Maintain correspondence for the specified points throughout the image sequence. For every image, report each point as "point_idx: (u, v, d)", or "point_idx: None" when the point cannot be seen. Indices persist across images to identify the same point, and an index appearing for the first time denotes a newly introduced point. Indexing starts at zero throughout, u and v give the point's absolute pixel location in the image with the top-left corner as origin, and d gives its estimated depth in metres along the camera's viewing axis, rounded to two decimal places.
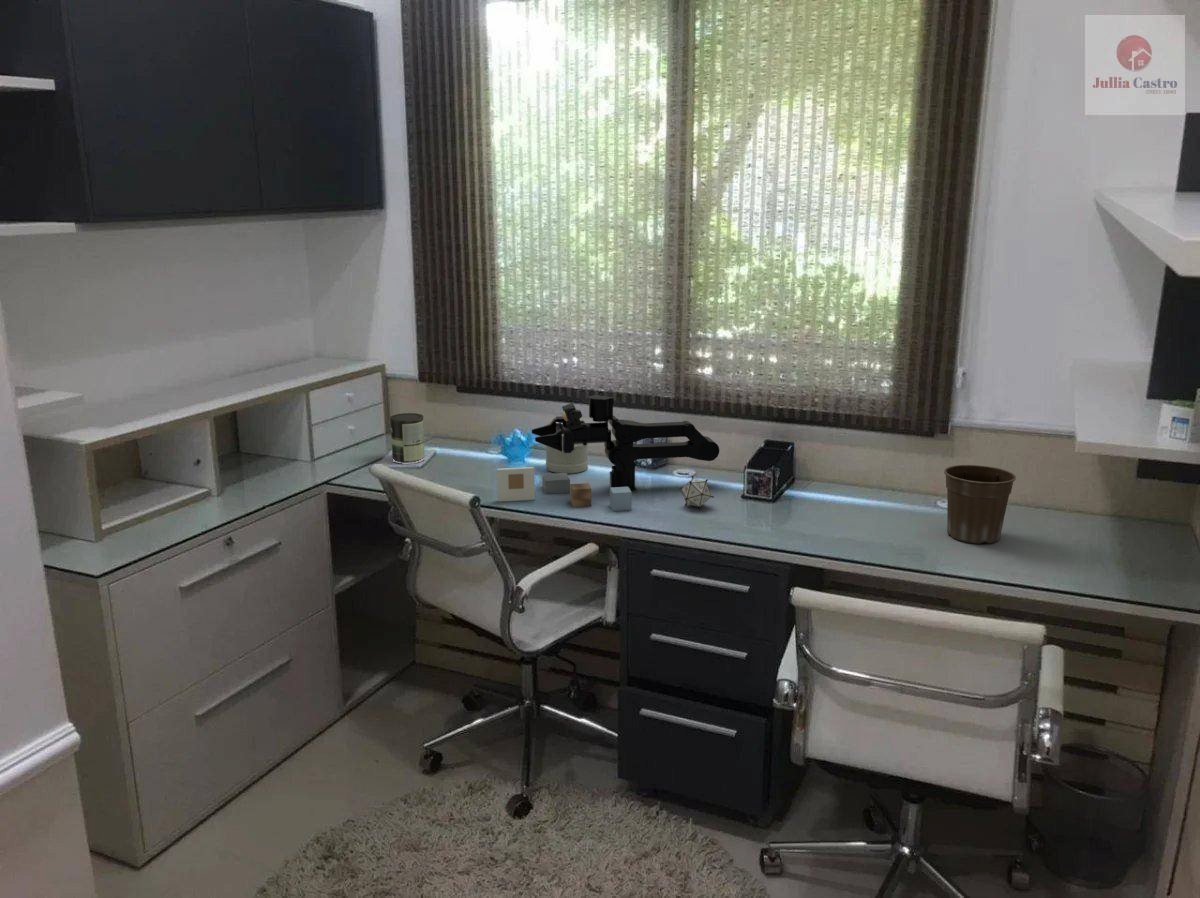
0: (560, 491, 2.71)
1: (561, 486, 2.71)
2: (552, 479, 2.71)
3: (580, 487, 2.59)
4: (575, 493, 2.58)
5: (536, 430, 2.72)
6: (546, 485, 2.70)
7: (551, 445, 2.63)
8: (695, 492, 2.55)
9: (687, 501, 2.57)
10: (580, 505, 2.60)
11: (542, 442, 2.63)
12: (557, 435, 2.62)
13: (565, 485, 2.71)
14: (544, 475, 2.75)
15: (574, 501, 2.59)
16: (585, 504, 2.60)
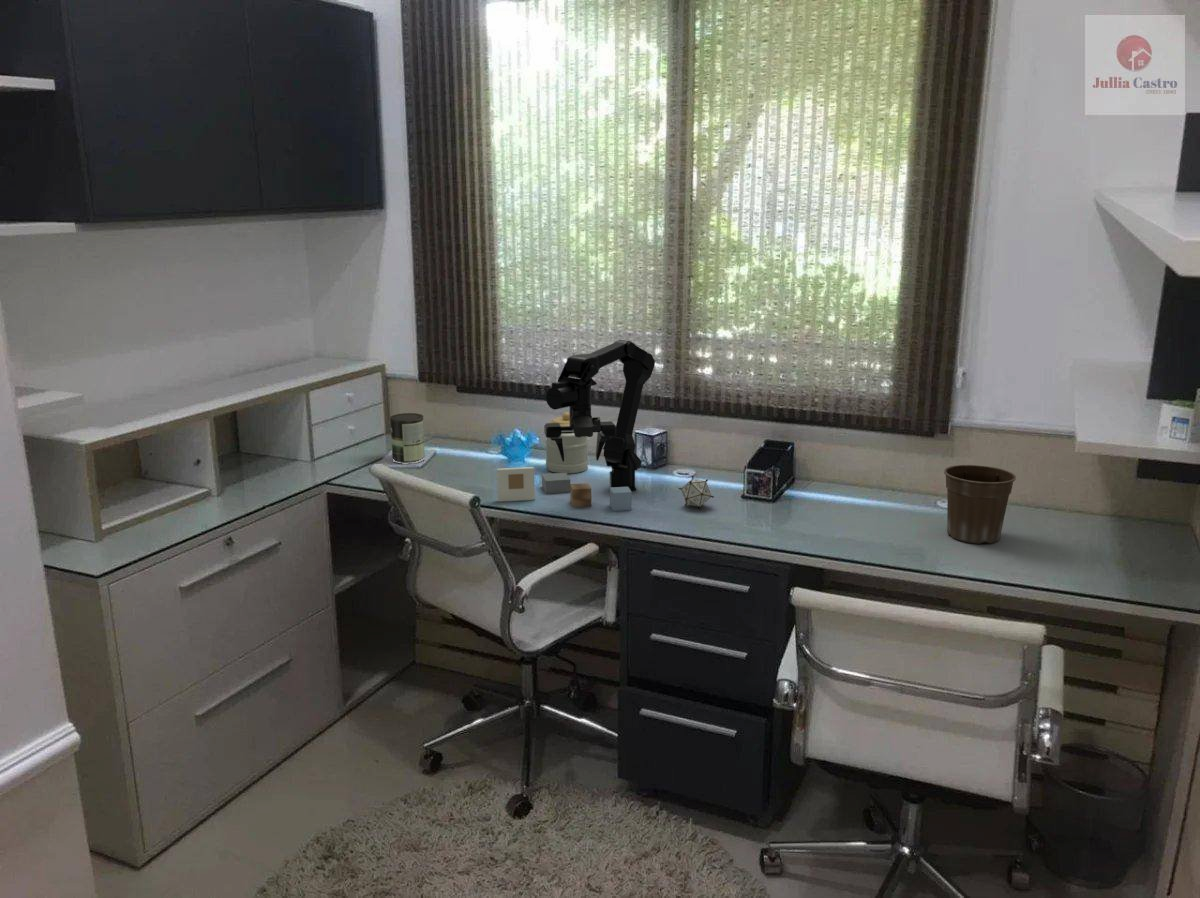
0: (560, 491, 2.71)
1: (561, 486, 2.71)
2: (552, 479, 2.71)
3: (580, 487, 2.59)
4: (575, 493, 2.58)
5: None
6: (547, 485, 2.70)
7: None
8: (695, 492, 2.55)
9: (687, 501, 2.57)
10: (580, 505, 2.60)
11: None
12: None
13: (565, 485, 2.71)
14: (544, 475, 2.75)
15: (574, 501, 2.59)
16: (585, 504, 2.60)
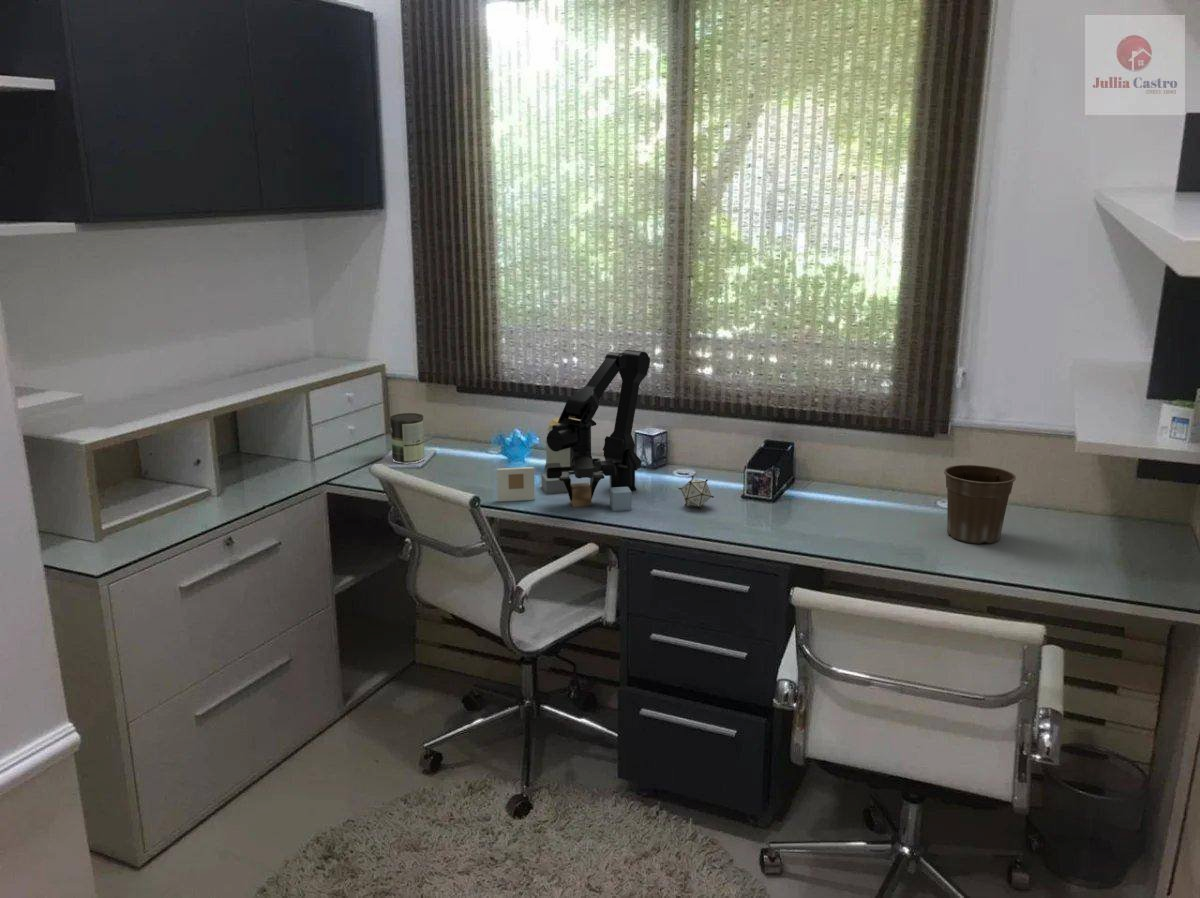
0: (561, 491, 2.71)
1: (562, 486, 2.71)
2: (553, 479, 2.71)
3: (580, 487, 2.59)
4: (575, 492, 2.58)
5: (571, 496, 2.61)
6: (547, 485, 2.70)
7: None
8: (695, 492, 2.55)
9: (687, 501, 2.57)
10: (580, 505, 2.59)
11: None
12: None
13: None
14: (544, 475, 2.75)
15: (574, 501, 2.59)
16: (585, 504, 2.60)
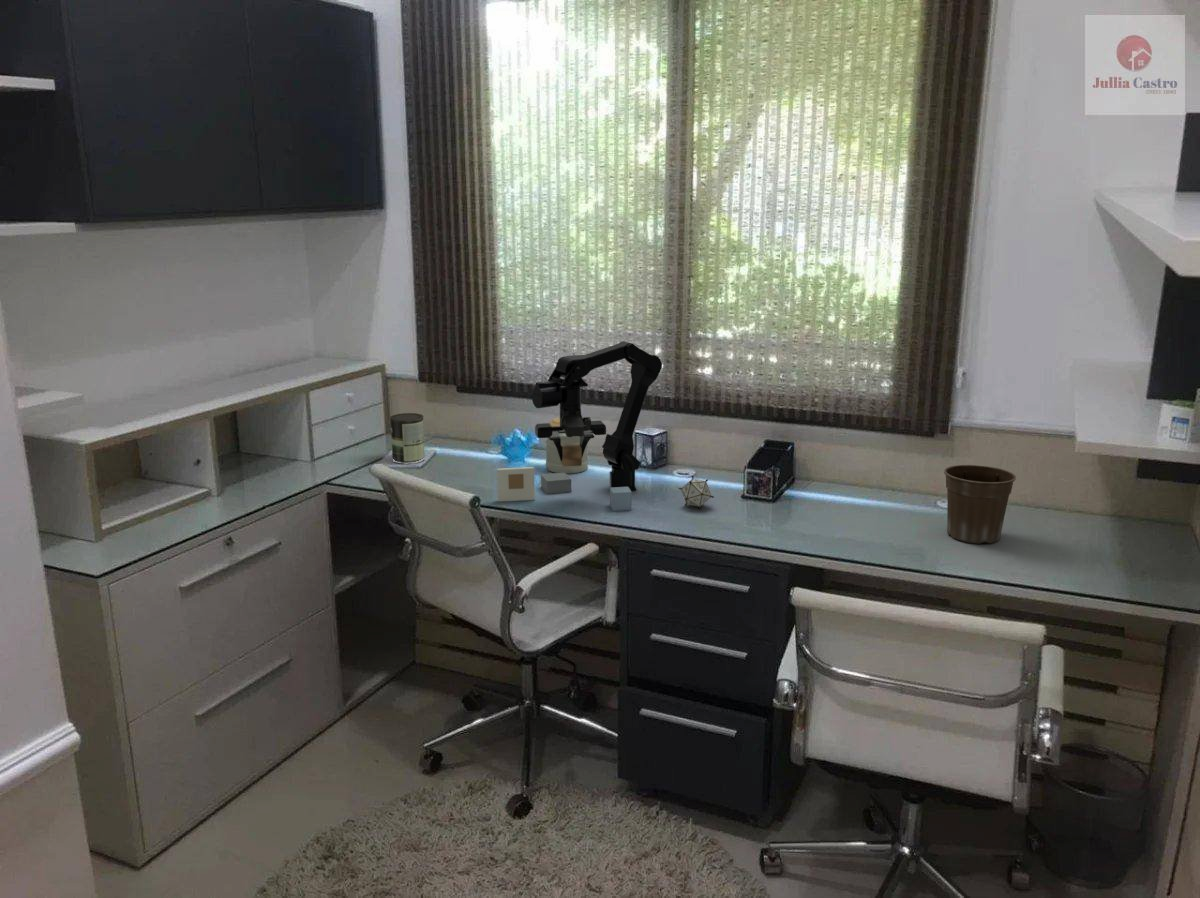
0: (561, 491, 2.71)
1: (562, 486, 2.71)
2: (553, 479, 2.71)
3: (570, 447, 2.61)
4: (566, 452, 2.60)
5: None
6: (548, 485, 2.70)
7: None
8: (695, 492, 2.55)
9: (687, 501, 2.57)
10: (570, 464, 2.62)
11: None
12: None
13: (566, 485, 2.71)
14: (543, 475, 2.75)
15: (564, 460, 2.61)
16: (575, 463, 2.62)
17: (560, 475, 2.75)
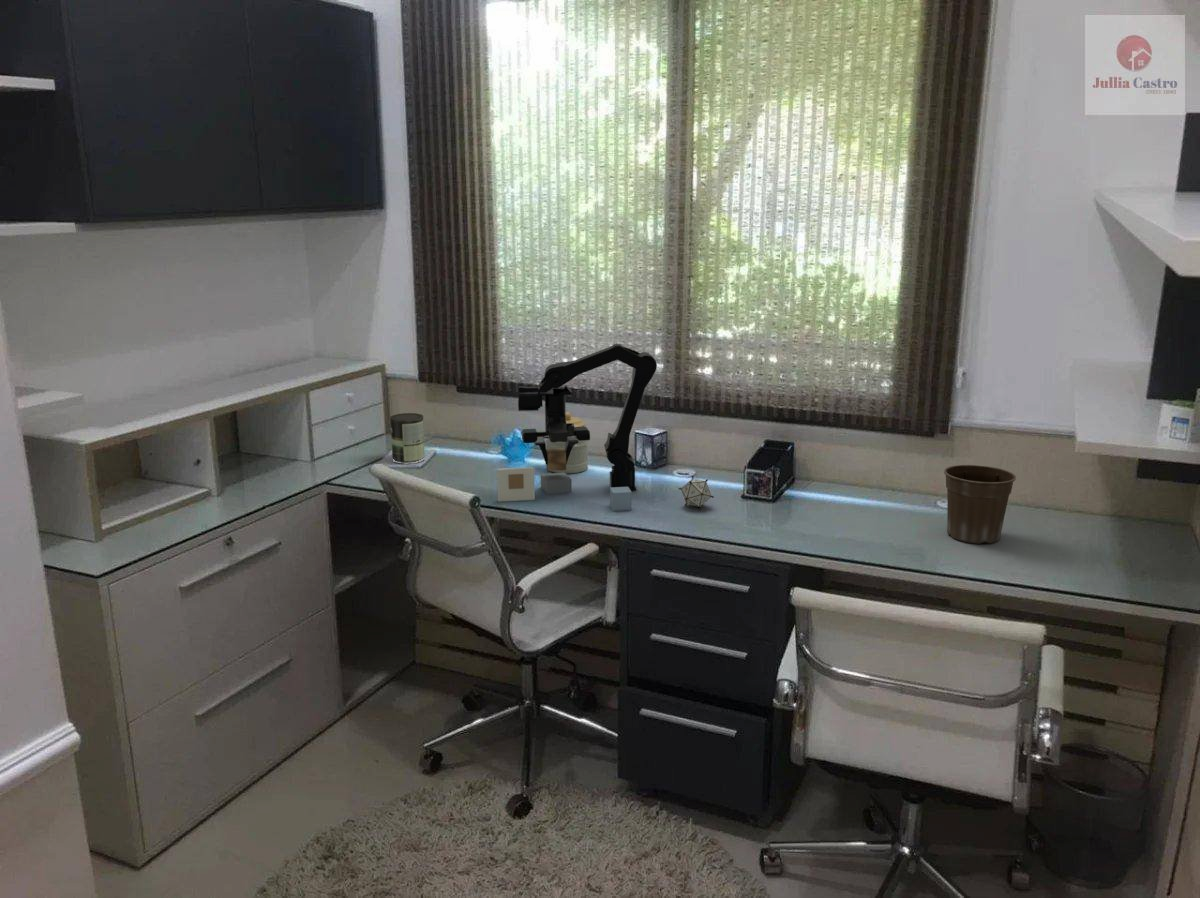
0: (561, 491, 2.71)
1: (563, 486, 2.71)
2: (553, 479, 2.71)
3: (555, 452, 2.70)
4: (551, 457, 2.69)
5: (547, 460, 2.72)
6: (548, 485, 2.70)
7: None
8: (695, 492, 2.55)
9: (687, 501, 2.57)
10: (555, 469, 2.70)
11: None
12: None
13: (566, 485, 2.72)
14: (543, 476, 2.74)
15: (549, 465, 2.70)
16: (560, 468, 2.71)
17: (560, 475, 2.75)
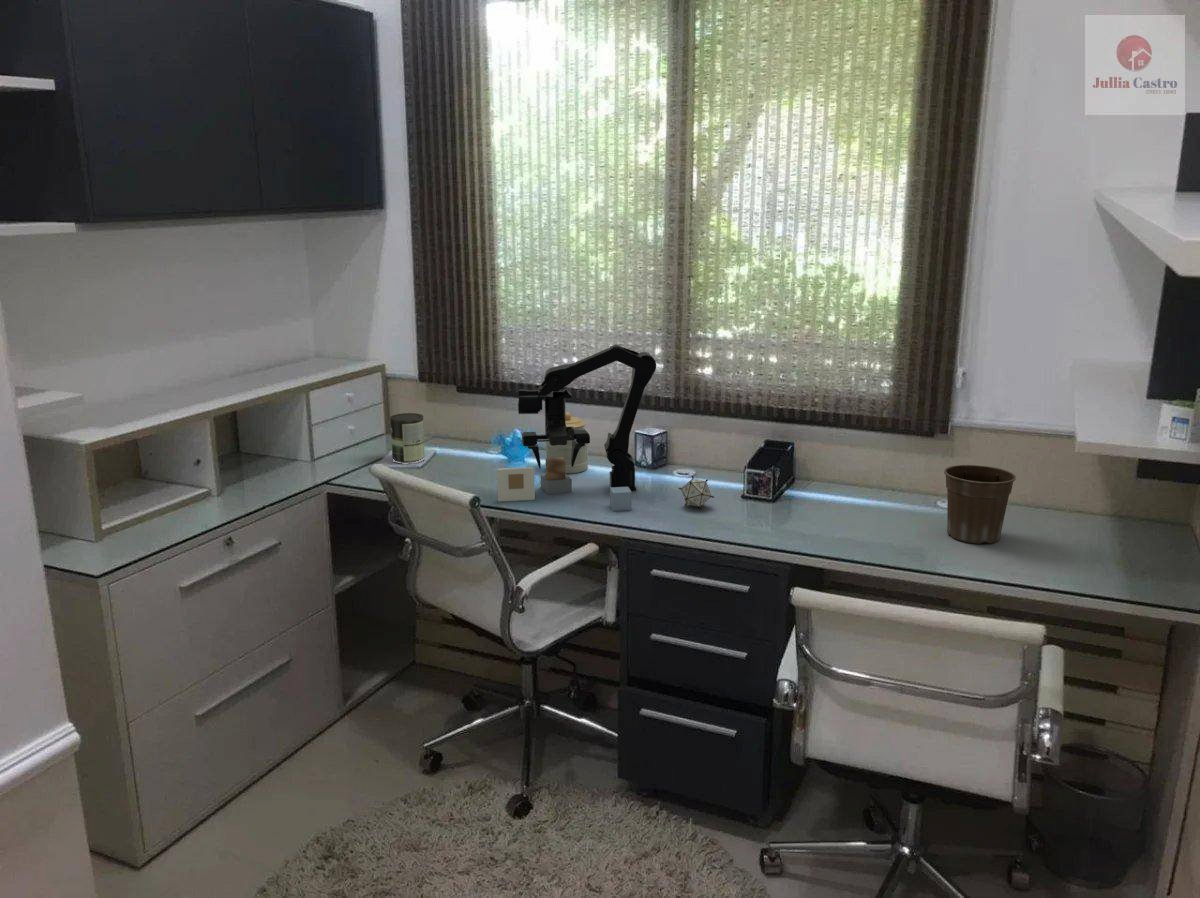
0: (562, 491, 2.72)
1: (563, 486, 2.71)
2: (554, 479, 2.71)
3: (555, 461, 2.71)
4: (550, 466, 2.70)
5: (540, 463, 2.72)
6: (549, 486, 2.70)
7: None
8: (695, 492, 2.55)
9: (687, 501, 2.57)
10: (554, 478, 2.71)
11: None
12: None
13: (567, 485, 2.72)
14: (543, 476, 2.74)
15: (549, 474, 2.70)
16: (559, 477, 2.71)
17: None
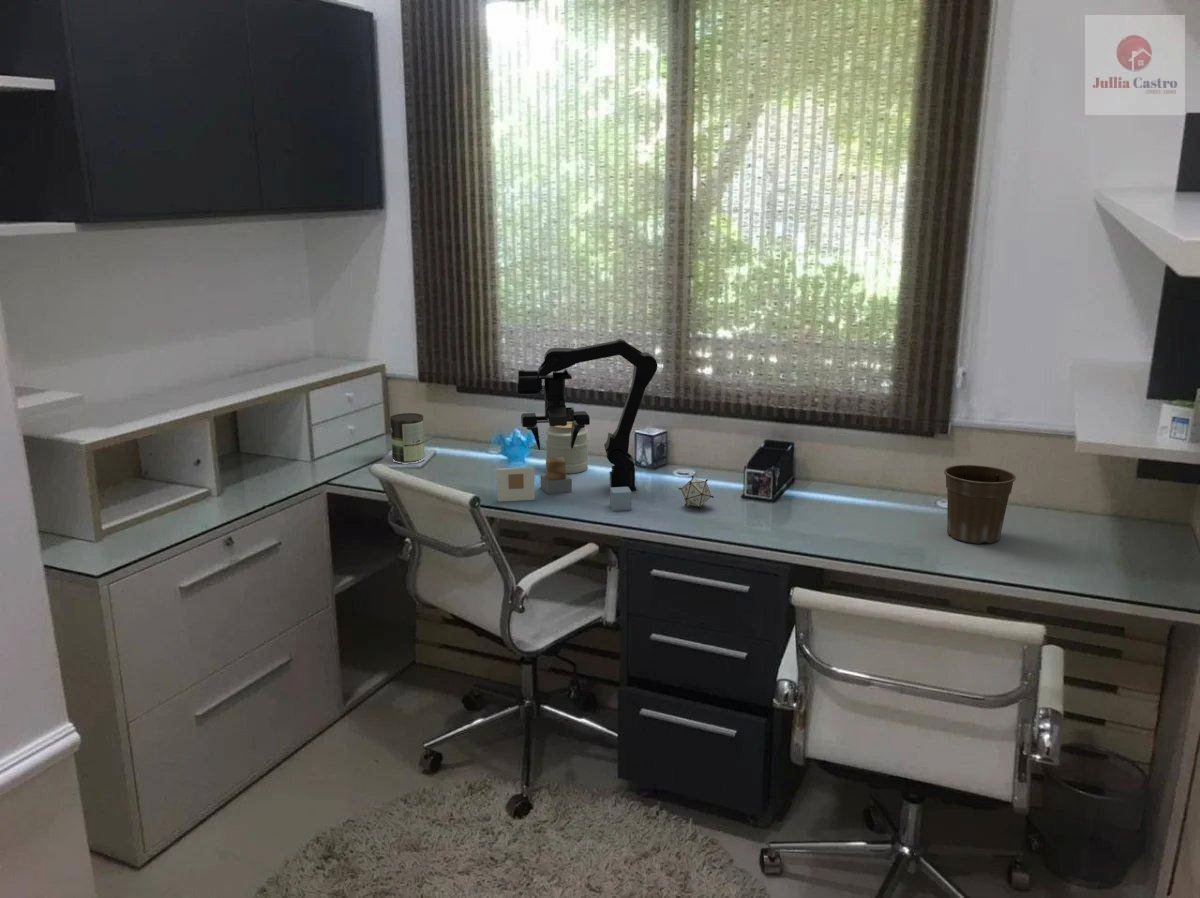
0: (562, 490, 2.72)
1: (563, 486, 2.71)
2: None
3: (555, 461, 2.71)
4: (550, 466, 2.70)
5: (539, 445, 2.70)
6: (549, 485, 2.70)
7: None
8: (695, 492, 2.55)
9: (687, 501, 2.57)
10: (555, 478, 2.71)
11: None
12: None
13: (567, 485, 2.72)
14: (543, 476, 2.74)
15: (549, 474, 2.70)
16: (559, 477, 2.71)
17: None
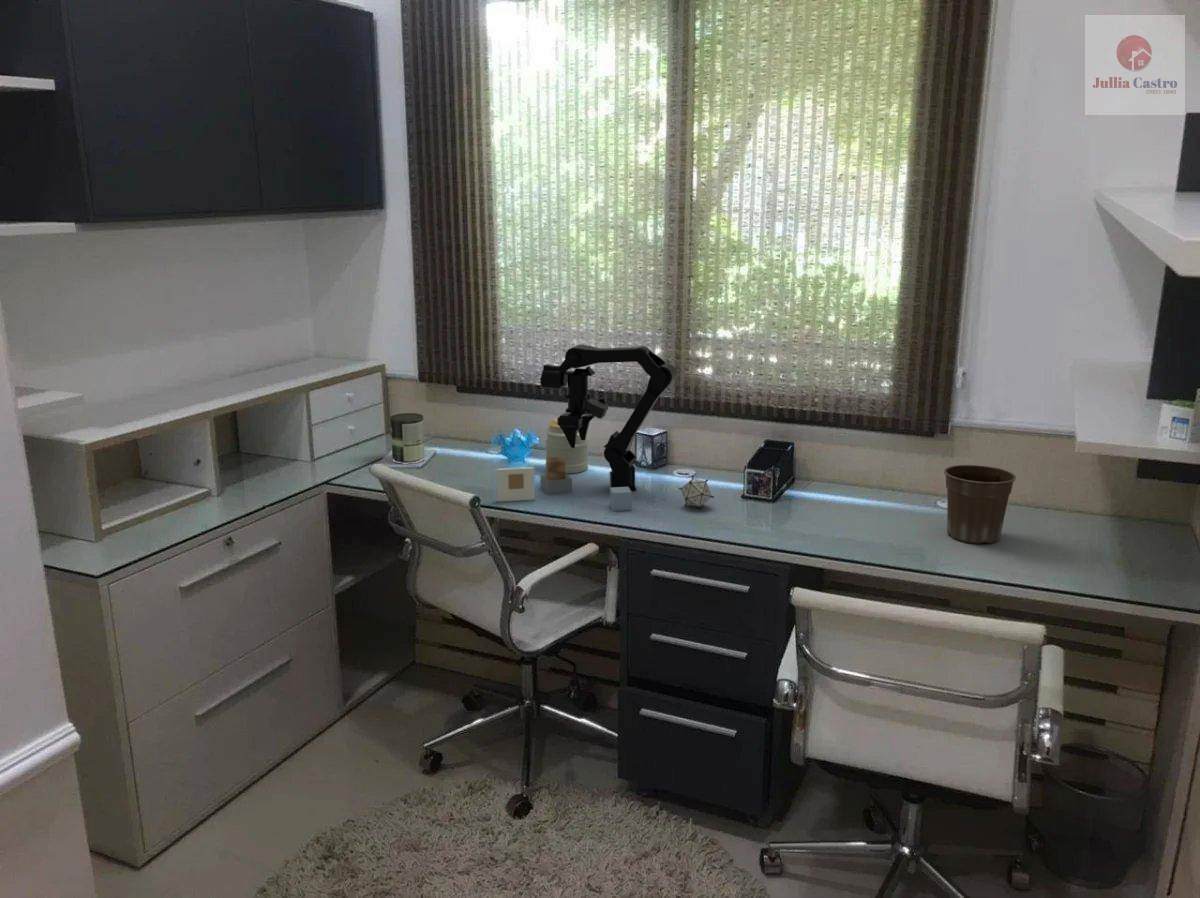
0: (562, 490, 2.72)
1: (563, 486, 2.71)
2: (554, 479, 2.71)
3: (555, 461, 2.71)
4: (550, 466, 2.70)
5: None
6: (549, 485, 2.70)
7: None
8: (695, 492, 2.55)
9: (687, 501, 2.57)
10: (555, 477, 2.71)
11: None
12: None
13: (567, 485, 2.72)
14: (543, 476, 2.74)
15: (549, 473, 2.71)
16: (559, 476, 2.71)
17: None
